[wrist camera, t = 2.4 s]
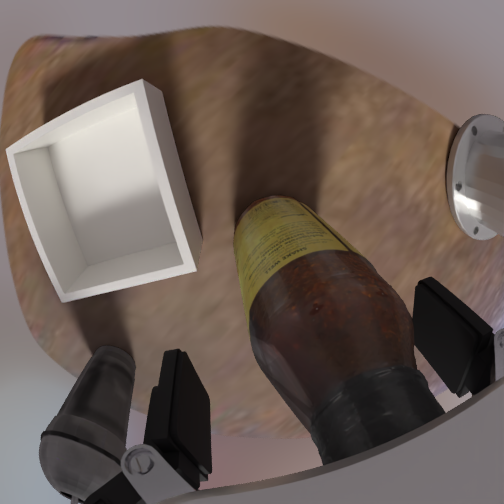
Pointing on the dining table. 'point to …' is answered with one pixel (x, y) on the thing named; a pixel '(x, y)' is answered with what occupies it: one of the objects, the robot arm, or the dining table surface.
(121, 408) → the beverage cup
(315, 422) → the sauce bottle
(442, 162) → the dining table surface
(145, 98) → the box
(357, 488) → the robot arm
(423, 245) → the dining table surface
